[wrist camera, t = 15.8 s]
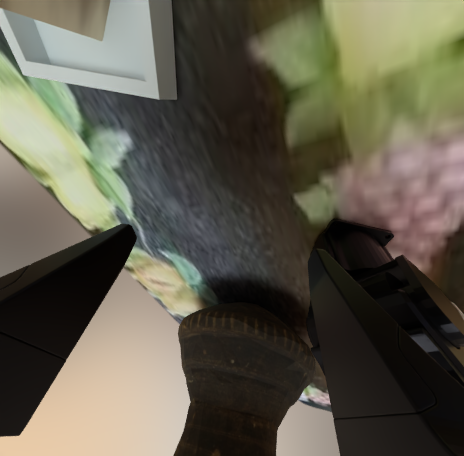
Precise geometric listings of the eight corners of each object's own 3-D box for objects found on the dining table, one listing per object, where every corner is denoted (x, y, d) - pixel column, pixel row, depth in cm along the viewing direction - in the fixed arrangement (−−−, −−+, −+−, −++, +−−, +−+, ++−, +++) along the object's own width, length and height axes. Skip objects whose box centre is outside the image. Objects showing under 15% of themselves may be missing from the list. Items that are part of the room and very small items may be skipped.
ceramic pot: (336, 305, 28) (423, 626, 11) (280, 348, 43) (278, 513, 26) (200, 258, 29) (84, 484, 12) (191, 316, 44) (133, 454, 27)
